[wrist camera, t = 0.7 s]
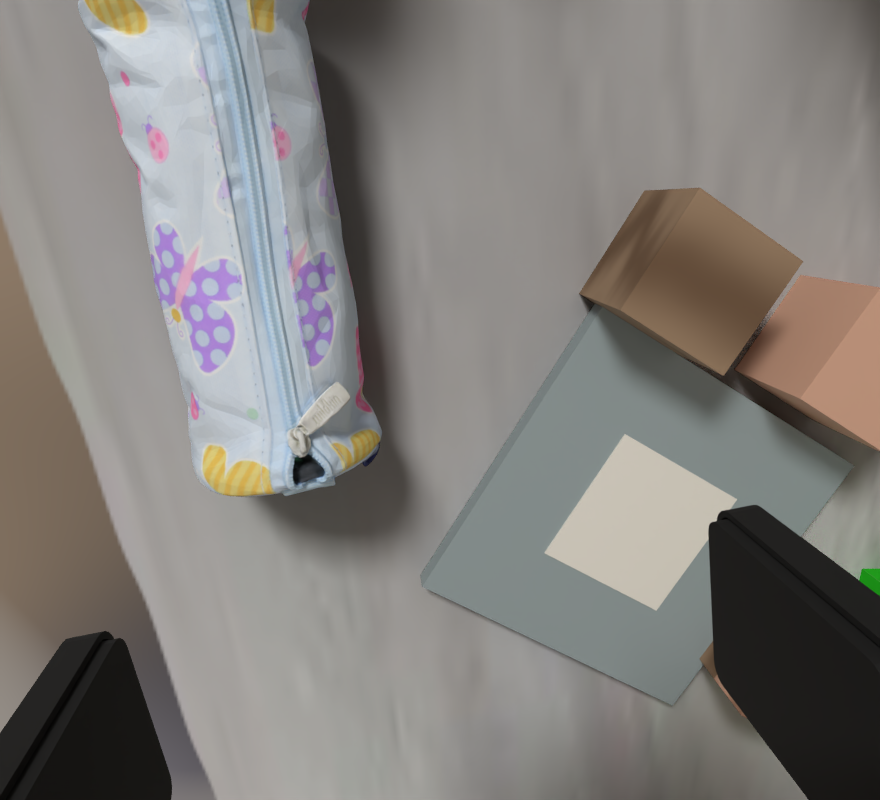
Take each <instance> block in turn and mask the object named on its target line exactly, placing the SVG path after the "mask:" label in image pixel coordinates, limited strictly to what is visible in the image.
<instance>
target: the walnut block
mask: <svg viewBox="0 0 880 800" xmlns="http://www.w3.org/2000/svg"><path fill="white" fill-rule="evenodd" d="M802 263H803V261H802V260H801V259H799V258H798V257H796V256H795V255H794V254H792V253H791V252H789V251H788V250H787V249H785V248H784V247H782V246H781V245H780V244H778V243H777V242H775V241H774V240H773V239H771V238H770V237H768V236H767V235H766V234H764V233H763V232H761V231H760V230H759V229H757V228H756V227H754V226H753V225H752V224H750V223H749V222H747V221H746V220H745V219H743V218H742V217H740V216H739V215H738V214H736V213H735V212H733V211H732V210H730V209H729V208H728V207H726V206H725V205H723V204H722V203H721V202H719V201H718V200H716V199H715V198H714V197H712V196H711V195H709V194H708V193H707V192H705V191H704V190H702V189H701V188H687V189H668V190H649V191H644V192H643V194H642V195H641V197H640V199H639V200H638V202H637V203H636V205H635V207H634V208H633V210H632V211H631V213H630V214H629V216H628V218H627V219H626V221H625V222H624V224H623V225H622V227H621V229H620V230H619V232H618V233H617V235H616V236H615V238H614V240H613V241H612V243H611V244H610V246H609V247H608V249H607V251H606V252H605V254H604V255H603V257H602V259H601V260H600V262H599V263H598V265H597V266H596V268H595V270H594V271H593V273H592V274H591V276H590V277H589V279H588V281H587V282H586V284H585V285H584V287H583V288H582V290H581V292H580V293H579V294H581V295H582V296H584V297H585V298H587V299H588V300H590V301H592V302H593V303H595V304H597V305H599V306H602V307H604V308H605V309H607V310H608V311H610V312H612V313H613V314H615V315H616V316H618V317H619V318H621V319H623V320H624V321H626V322H627V323H629V324H631V325H632V326H634V327H635V328H637V329H638V330H640V331H642V332H643V333H645V334H646V335H648V336H650V337H651V338H653V339H654V340H656V341H657V342H659V343H661V344H662V345H664V346H665V347H667V348H669V349H670V350H672V351H673V352H675V353H676V354H678V355H680V356H682V357H685V358H687V359H689V360H691V361H693V362H695V363H697V364H699V365H702V366H704V367H706V368H708V369H710V370H712V371H714V372H716V373H719V374H721V375H723V376H724V374H725V373H726V372H727V370H728V369H729V367H730V366H731V364H732V363H733V362H734V360H735V359H736V357H737V356H738V354H739V353H740V352H741V350H742V349H743V347H744V346H745V344H746V343H747V341H748V340H749V339H750V337H751V336H752V334H753V333H754V331H755V330H756V329H757V327H758V326H759V324H760V323H761V321H762V320H763V319H764V317H765V316H766V314H767V313H768V311H769V310H770V308H771V307H772V306H773V304H774V303H775V301H776V300H777V298H778V297H779V296H780V294H781V293H782V291H783V290H784V288H785V287H786V286H787V284H788V283H789V281H790V280H791V278H792V277H793V275H794V274H795V273H796V271H797V270H798V268H799V267H800V265H801V264H802Z"/></svg>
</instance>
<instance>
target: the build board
mask: <svg viewBox="0 0 880 800" xmlns="http://www.w3.org/2000/svg"><path fill="white" fill-rule="evenodd" d="M853 467H854V465H852V464H851V463H849V462H848V461H846V460H844V459H843V458H841V457H840V456H838V455H836V454H835V453H833V452H832V451H830V450H829V449H827V448H825V447H824V446H822V445H821V444H819V443H817V442H816V441H814V440H813V439H811V438H810V437H808V436H806V435H805V434H803V433H802V432H800V431H798V430H797V429H795V428H794V427H792V426H791V425H789V424H787V423H786V422H784V421H783V420H781V419H779V418H778V417H776V416H775V415H773V414H772V413H770V412H768V411H767V410H765V409H764V408H762V407H760V406H759V405H757V404H756V403H754V402H753V401H751V400H749V399H748V398H746V397H745V396H743V395H741V394H740V393H738V392H737V391H735V390H734V389H732V388H730V387H729V386H727V385H726V384H724V383H722V382H721V381H719V380H718V379H716V378H715V377H713V376H711V375H710V374H708V373H707V372H705V371H703V370H702V369H700V368H699V367H697V366H696V365H694V364H692V363H691V362H689V361H688V360H686V359H684V358H683V357H681V356H680V355H678V354H676V353H675V352H673V351H672V350H670V349H669V348H667V347H665V346H664V345H662V344H661V343H659V342H657V341H656V340H654V339H653V338H651V337H650V336H648V335H646V334H645V333H643V332H642V331H640V330H638V329H637V328H635V327H634V326H632V325H631V324H629V323H627V322H626V321H624V320H623V319H621V318H619V317H618V316H616V315H615V314H613V313H612V312H610V311H608V310H607V309H605V308H604V307H602V306H599V305H597V304H594V305H593V307H592V309H591V310H590V312H589V313H588V315H587V316H586V318H585V320H584V321H583V323H582V324H581V326H580V327H579V329H578V330H577V332H576V334H575V335H574V337H573V338H572V340H571V341H570V343H569V344H568V346H567V348H566V349H565V351H564V352H563V354H562V355H561V357H560V359H559V360H558V362H557V363H556V365H555V366H554V368H553V369H552V371H551V373H550V374H549V376H548V377H547V379H546V380H545V382H544V384H543V385H542V387H541V388H540V390H539V391H538V393H537V394H536V396H535V398H534V399H533V401H532V402H531V404H530V405H529V407H528V408H527V410H526V412H525V413H524V415H523V416H522V418H521V419H520V421H519V423H518V424H517V426H516V427H515V429H514V430H513V432H512V433H511V435H510V437H509V438H508V440H507V441H506V443H505V444H504V446H503V447H502V449H501V451H500V452H499V454H498V455H497V457H496V458H495V460H494V462H493V463H492V465H491V466H490V468H489V469H488V471H487V472H486V474H485V476H484V477H483V479H482V480H481V482H480V483H479V485H478V487H477V488H476V490H475V491H474V493H473V494H472V496H471V497H470V499H469V501H468V502H467V504H466V505H465V507H464V508H463V510H462V511H461V513H460V515H459V516H458V518H457V519H456V521H455V522H454V524H453V526H452V527H451V529H450V530H449V532H448V533H447V535H446V536H445V538H444V540H443V541H442V543H441V544H440V546H439V547H438V549H437V550H436V552H435V554H434V555H433V557H432V558H431V560H430V561H429V563H428V565H427V566H426V568H425V569H424V571H423V572H422V574H421V575H420V576H421V583H422V587H424V588H426V589H428V590H430V591H432V592H434V593H436V594H438V595H440V596H443V597H445V598H447V599H449V600H451V601H453V602H455V603H457V604H459V605H461V606H464V607H466V608H468V609H470V610H472V611H474V612H476V613H478V614H480V615H483V616H485V617H487V618H489V619H491V620H493V621H495V622H497V623H499V624H502V625H504V626H506V627H508V628H510V629H512V630H514V631H516V632H518V633H520V634H523V635H525V636H527V637H529V638H531V639H533V640H535V641H537V642H539V643H542V644H544V645H546V646H548V647H550V648H552V649H554V650H556V651H558V652H560V653H563V654H565V655H567V656H569V657H571V658H573V659H575V660H577V661H579V662H582V663H584V664H586V665H588V666H590V667H592V668H594V669H596V670H598V671H600V672H603V673H605V674H607V675H609V676H611V677H613V678H615V679H617V680H619V681H622V682H624V683H626V684H628V685H630V686H632V687H634V688H636V689H638V690H640V691H643V692H645V693H647V694H649V695H651V696H653V697H655V698H657V699H659V700H662V701H664V702H666V703H668V704H670V705H672V706H673V704H674V703H675V702H676V700H677V699H678V698H679V696H680V695H681V694H682V692H683V691H684V690H685V689H686V687H687V686H688V685H689V683H690V682H691V681H692V679H693V678H694V677H695V675H696V674H697V673H698V671H699V670H700V669H701V667H702V666H703V665H704V664H703V663H702V662H701V660H700V657H701V656H702V655H703V653H704V652H705V651H706V649H707V648H708V647H709V645H710V644H711V643H712V641H713V629H712V606H711V583H710V560H709V537H708V529H709V525H710V523H711V522H715V521H717V517H718V514H719V513H720V512H721V511H724V510H729V509H734V508H740V507H745V506H750V505H758V506H760V507H762V508H763V509H764V510H766V511H767V512H768V513H770V514H771V515H772V516H774V517H775V518H776V519H778V520H779V521H780V522H782V523H783V524H784V525H786V526H787V527H788V528H790V529H791V530H792V531H794V532H795V533H796V534H798V535H799V536H800V537H801V536H802V534H803V533H804V532H805V530H806V529H807V528H808V526H809V525H810V524H811V522H812V521H813V520H814V518H815V517H816V516H817V514H818V513H819V512H820V510H821V509H822V508H823V507H824V505H825V504H826V503H827V501H828V500H829V499H830V497H831V496H832V495H833V493H834V492H835V491H836V489H837V488H838V487H839V485H840V484H841V483H842V481H843V480H844V479H845V477H846V476H847V475H848V474H849V472H850V471H851V470H852V468H853Z"/></svg>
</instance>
